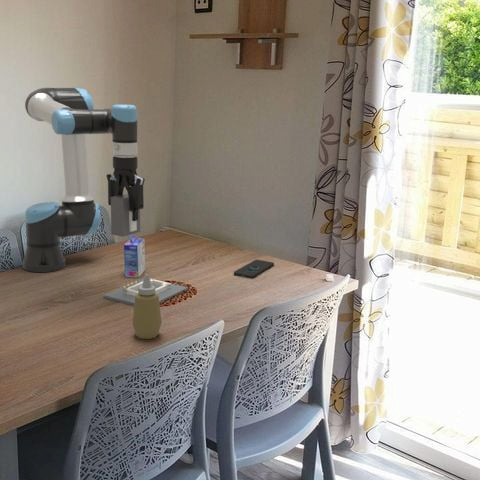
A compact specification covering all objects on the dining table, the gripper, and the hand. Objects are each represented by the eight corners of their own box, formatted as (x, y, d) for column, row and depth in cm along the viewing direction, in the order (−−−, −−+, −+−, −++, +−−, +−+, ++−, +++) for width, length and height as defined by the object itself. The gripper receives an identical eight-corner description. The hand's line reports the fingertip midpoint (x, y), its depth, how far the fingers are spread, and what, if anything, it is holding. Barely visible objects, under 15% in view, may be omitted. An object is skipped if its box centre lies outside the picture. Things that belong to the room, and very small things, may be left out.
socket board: (103, 297, 207) (103, 290, 206) (145, 280, 226) (145, 273, 225) (148, 309, 198) (148, 302, 198) (187, 290, 217) (188, 283, 216)
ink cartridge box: (131, 269, 238) (130, 231, 234) (145, 269, 237) (145, 232, 233) (123, 277, 228) (123, 238, 224) (138, 278, 228) (138, 239, 224)
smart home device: (232, 271, 234) (255, 258, 252) (232, 276, 235) (255, 263, 252) (252, 275, 231) (275, 262, 248) (252, 280, 231) (274, 266, 249)
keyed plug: (111, 234, 201) (110, 196, 197) (130, 228, 208) (130, 192, 205) (123, 236, 198) (122, 198, 195) (142, 231, 206) (142, 194, 203)
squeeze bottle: (133, 329, 183) (133, 270, 178) (162, 329, 184) (162, 270, 179) (131, 341, 175) (130, 279, 170) (161, 341, 176) (161, 279, 171)
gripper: (94, 154, 198) (96, 227, 204) (140, 159, 189) (140, 236, 195) (111, 152, 204) (112, 223, 210) (155, 157, 195) (155, 231, 201)
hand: (126, 229), depth 202 cm, fingers closed on keyed plug, 5 cm apart
